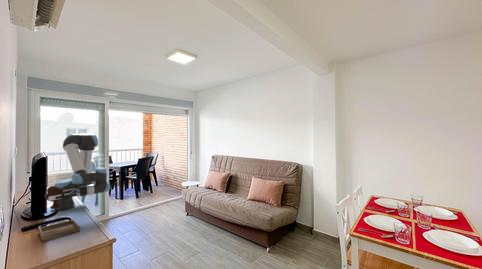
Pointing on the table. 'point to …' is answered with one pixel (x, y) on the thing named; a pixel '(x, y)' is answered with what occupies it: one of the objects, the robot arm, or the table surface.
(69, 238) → the table surface
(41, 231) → the light brown wooden tray
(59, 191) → the ice cream bowl
